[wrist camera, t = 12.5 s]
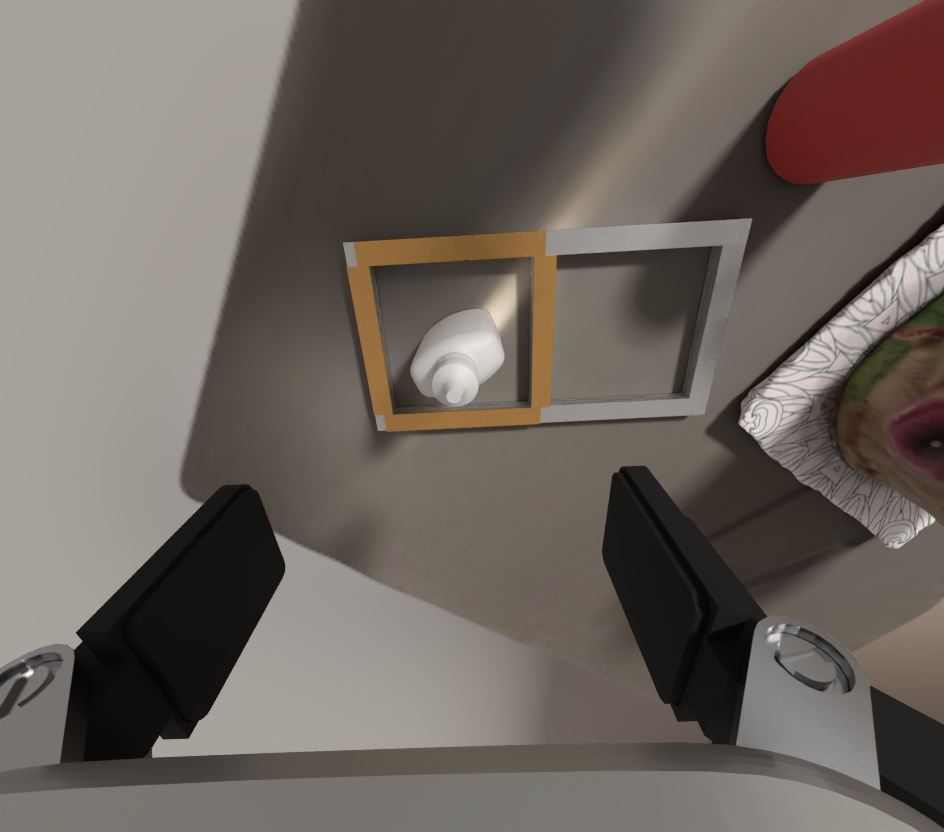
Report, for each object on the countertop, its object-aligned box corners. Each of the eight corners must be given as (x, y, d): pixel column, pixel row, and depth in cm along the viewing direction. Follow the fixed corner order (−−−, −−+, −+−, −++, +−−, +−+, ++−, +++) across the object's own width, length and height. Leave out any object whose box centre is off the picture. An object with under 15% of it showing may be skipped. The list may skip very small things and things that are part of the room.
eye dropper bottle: (423, 303, 27) (392, 346, 16) (499, 308, 27) (519, 355, 16) (422, 360, 29) (394, 433, 18) (493, 365, 29) (508, 440, 18)
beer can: (744, 187, 24) (970, 145, 13) (780, 52, 21) (1107, -143, 10) (846, 185, 24) (1155, 143, 13) (895, 50, 21) (1342, -146, 10)
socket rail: (348, 242, 25) (341, 242, 24) (740, 219, 25) (754, 218, 23) (381, 424, 31) (377, 432, 30) (696, 408, 31) (705, 415, 30)
